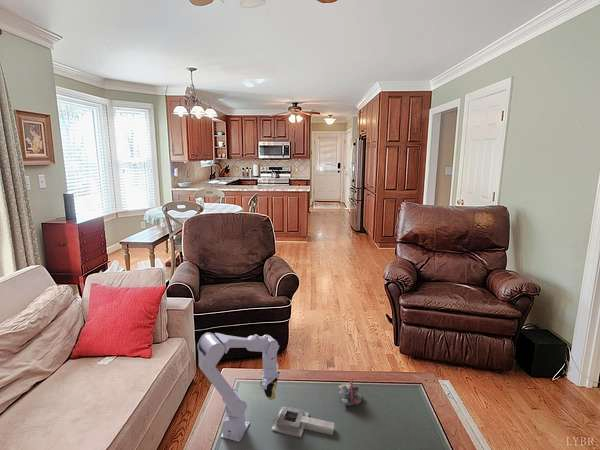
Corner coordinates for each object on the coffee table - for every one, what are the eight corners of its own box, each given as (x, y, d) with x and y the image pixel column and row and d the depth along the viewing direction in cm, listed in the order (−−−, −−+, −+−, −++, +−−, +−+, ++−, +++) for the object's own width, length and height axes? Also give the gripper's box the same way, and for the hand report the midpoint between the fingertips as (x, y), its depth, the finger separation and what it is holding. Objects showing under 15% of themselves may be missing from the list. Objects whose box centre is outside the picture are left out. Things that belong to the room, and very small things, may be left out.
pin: (274, 401, 144) (273, 387, 142) (264, 399, 146) (263, 385, 144) (278, 393, 148) (277, 379, 147) (268, 391, 150) (267, 378, 148)
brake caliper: (368, 405, 147) (351, 385, 146) (347, 417, 150) (330, 398, 148) (365, 386, 158) (349, 367, 157) (345, 398, 161) (329, 380, 159)
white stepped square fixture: (330, 444, 131) (330, 437, 131) (271, 430, 138) (271, 424, 137) (336, 420, 143) (336, 414, 142) (282, 408, 149) (281, 402, 148)
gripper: (272, 377, 135) (273, 406, 138) (284, 355, 149) (285, 383, 152) (255, 374, 137) (257, 403, 140) (269, 352, 151) (270, 380, 154)
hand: (270, 392), depth 146 cm, fingers closed on pin, 4 cm apart
